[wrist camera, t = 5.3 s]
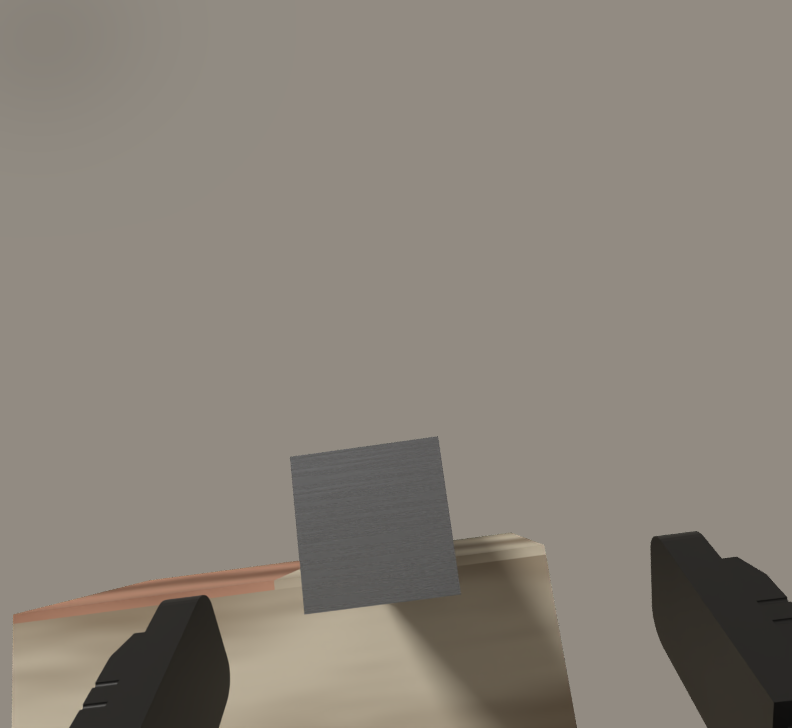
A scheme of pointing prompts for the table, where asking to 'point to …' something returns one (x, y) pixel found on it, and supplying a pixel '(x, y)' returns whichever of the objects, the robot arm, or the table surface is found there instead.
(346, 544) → the metal block
